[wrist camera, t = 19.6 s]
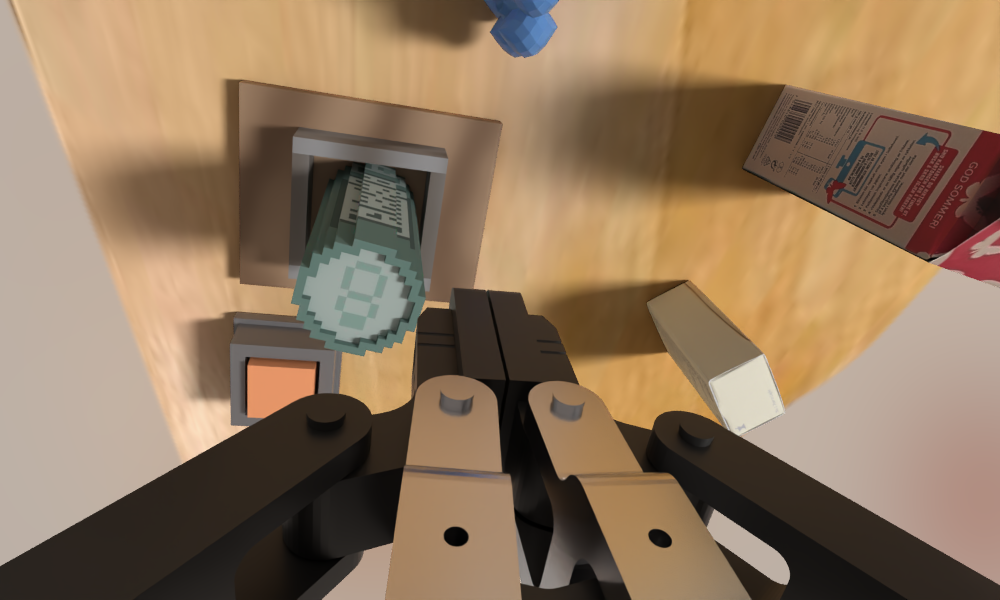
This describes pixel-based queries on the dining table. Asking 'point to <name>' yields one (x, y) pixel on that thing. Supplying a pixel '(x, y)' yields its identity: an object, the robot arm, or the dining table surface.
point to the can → (362, 263)
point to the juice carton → (889, 176)
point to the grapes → (522, 25)
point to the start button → (278, 384)
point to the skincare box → (717, 359)
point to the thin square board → (338, 143)
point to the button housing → (275, 355)
